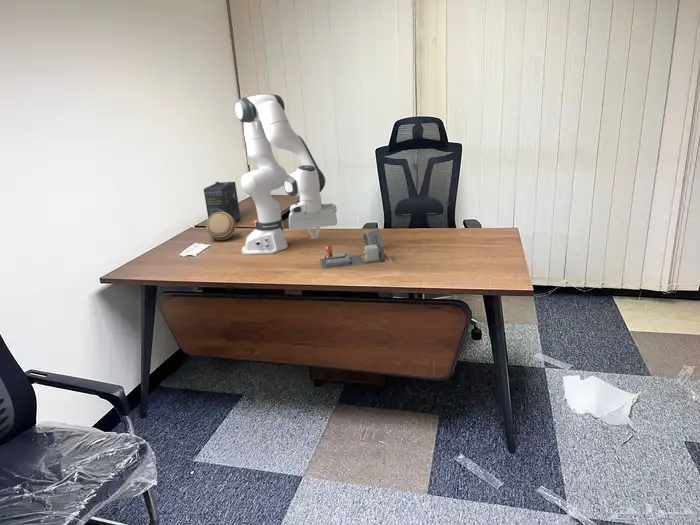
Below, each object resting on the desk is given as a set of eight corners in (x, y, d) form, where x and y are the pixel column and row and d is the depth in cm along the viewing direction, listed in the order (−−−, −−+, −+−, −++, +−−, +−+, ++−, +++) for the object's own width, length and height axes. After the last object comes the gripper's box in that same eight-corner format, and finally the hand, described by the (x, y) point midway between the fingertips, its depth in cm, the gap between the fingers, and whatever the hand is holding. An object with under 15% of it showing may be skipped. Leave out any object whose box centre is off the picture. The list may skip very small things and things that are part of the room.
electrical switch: (372, 252, 221) (370, 232, 219) (363, 251, 225) (361, 232, 222) (384, 246, 228) (382, 227, 226) (375, 246, 231) (373, 227, 229)
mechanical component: (203, 241, 258) (198, 213, 253) (226, 234, 268) (222, 207, 263) (219, 245, 248) (215, 217, 244) (243, 237, 259) (239, 210, 254)
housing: (364, 260, 208) (363, 249, 206) (362, 256, 212) (362, 245, 211) (378, 258, 208) (377, 247, 207) (376, 255, 213) (375, 244, 211)
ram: (327, 263, 207) (325, 247, 205) (326, 261, 210) (325, 245, 207) (352, 260, 208) (351, 245, 206) (351, 258, 211) (350, 243, 208)
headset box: (222, 220, 300) (216, 178, 292) (241, 219, 299) (235, 177, 290) (209, 230, 279) (201, 185, 271) (229, 229, 278) (222, 184, 269)
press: (322, 270, 202) (321, 255, 200) (320, 261, 214) (318, 246, 212) (385, 264, 205) (384, 248, 203) (379, 254, 217) (378, 239, 215)
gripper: (335, 201, 203) (338, 232, 208) (286, 206, 201) (290, 238, 205) (336, 204, 197) (339, 236, 202) (286, 209, 195) (291, 242, 199)
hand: (314, 237), depth 203 cm, fingers closed
